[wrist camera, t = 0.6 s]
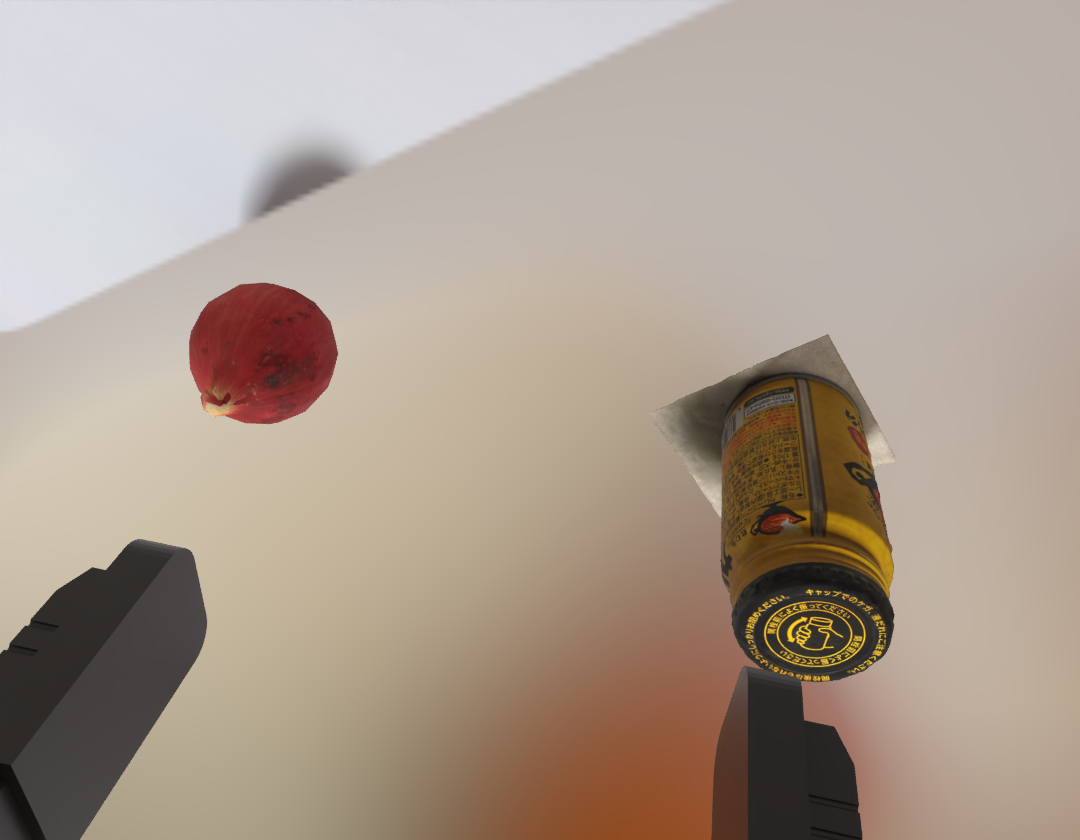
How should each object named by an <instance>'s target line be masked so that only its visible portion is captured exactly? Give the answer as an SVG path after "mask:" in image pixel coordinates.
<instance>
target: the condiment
mask: <svg viewBox="0 0 1080 840" xmlns="http://www.w3.org/2000/svg"><path fill="white" fill-rule="evenodd" d="M648 415H649V417H650V418H651V419H652V421H653V422H654V423H655V425H656V426H657V427H658V428H659V429H660V431H661V432H662V434H663V435H664V437H665V438H666V439H667V441H668V442H669V443H670V445H671V447H672V448H673V449H674V451H675V452H676V453H677V455H678V456H679V457H680V459H681V460H682V462H683V463H684V465H685V466H686V468H687V469H688V471H689V472H690V473H691V475H693V476H694V478H695V480H696V482H697V484H698V485H699V487H700V488H701V490H702V491H703V493H704V494H705V496H706V497H707V498H708V500H709V501H710V502H711V504H712V505H713V508H714V509H715V511H716V512H717V513H718V515H719V516H720V518H721V520H722V522H721V568H722V577H723V580H724V583H725V586H726V588H727V589H728V592H729V593H730V601H731V604H732V607H733V611H732V626H733V629H734V635H735V637H736V639H737V641H738V643H739V645H740V647H741V648H742V649H743V650H744V652H745V654H746V655H747V656H748V658H750V659H751V660H753V662H754V663H756V664H757V665H758V666H759V667H760V668H763V669H764V670H767V671H771V672H776V673H781V674H786V675H790V676H795V677H798V678H799V679H800V681H812V682H824V681H833V680H840V679H842V678H845V677H848V676H851V675H854V674H857V673H858V672H863V671H864V670H866V669H867V668H868V667H869V666H871V665H872V664H873V663H874V662H876V661H878V660H879V659H881V658H882V657H883V656H884V655H885V653H886V652H887V650H888V648H889V645H890V642H891V638H892V633H893V629H894V623H893V620H894V613H893V608H892V606H891V604H890V601H889V596H890V593H889V587H890V585H891V582H892V579H893V570H894V565H893V560H892V556H891V552H892V546H891V544H890V542H889V539H888V536H887V530H886V524H885V521H884V517H883V512H882V508H881V504H880V493H879V491H878V487H877V483H876V481H875V475H874V469H873V467H877V466H879V465H883V464H886V463H890V462H896V461H897V459H896V458H895V456H894V454H893V452H892V450H891V448H890V447H889V445H888V443H887V441H886V439H885V437H884V436H883V434H882V432H881V430H880V428H879V426H878V424H877V422H876V420H875V419H874V417H873V415H872V413H871V411H870V410H869V408H868V406H867V404H866V402H865V400H864V398H863V397H862V395H861V393H860V391H859V389H858V388H857V386H856V384H855V382H854V380H853V379H852V377H851V375H850V373H849V371H848V370H847V368H846V366H845V364H844V363H843V361H842V359H841V357H840V355H839V354H838V352H837V350H836V348H835V346H834V344H833V343H832V341H831V339H830V337H829V335H825V336H823V337H821V338H818V339H816V340H814V341H811V342H809V343H806V344H804V345H801V346H799V347H797V348H794V349H791V350H789V351H787V352H784V353H782V354H780V355H779V356H777V357H774V358H771V359H768V360H766V361H763V362H761V363H759V364H757V365H755V366H753V367H752V368H748V369H745V370H743V371H742V372H740V373H738V374H736V375H734V376H731V377H728V378H727V379H725V380H723V381H721V382H720V383H718V384H716V385H713V386H709V387H707V388H704V389H702V390H700V391H698V392H695V393H692V394H690V395H688V396H686V397H684V398H682V399H679V400H678V401H676V402H674V403H672V404H670V405H668V406H666V407H663V408H661V409H658V410H656V411H654V412H651V413H649V414H648Z"/></svg>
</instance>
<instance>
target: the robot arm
mask: <svg viewBox="0 0 1080 840" xmlns="http://www.w3.org/2000/svg"><path fill="white" fill-rule="evenodd" d="M206 629H207V617H206V612H205V607H204V602H203V598H202V593H201V588H200V583H199V579H198V574H197V569H196V564H195V560H194V556H193V554H192V552H191V551H190V550H188V549H186V548H181V547H176V546H171V545H167V544H162V543H157V542H152V541H147V540H142V539H138V540H134V541H132V542H131V543H130V544H128V545H127V546H126V547H125V548H124V550H123V551H122V552H121V553H120V554H119V555H118V557H117V558H116V559H115V560H114V561H113V562H112V564H111V565H110V566H109V567H108V568H107V570H102V569H97V568H93V567H92V568H91V569H89V570H88V571H86V572H85V573H83V574H82V575H80V576H78V577H77V578H75V579H73V580H72V581H70V582H69V583H67V584H66V585H64V586H63V587H61V588H59V589H58V590H57V591H56V592H55V593H54V594H53V595H52V596H51V597H50V598H49V600H48V601H47V602H46V603H45V604H44V605H43V606H42V607H41V608H40V610H39V611H38V612H37V613H36V614H35V615H34V617H33V618H32V619H31V622H30V625H29V626H25V627H24V628H23V629H22V630H21V631H20V632H19V633H18V635H17V636H16V637H15V638H14V639H13V640H12V641H11V642H10V645H9V648H8V650H3V652H2V653H1V654H0V840H80V838H81V837H82V835H83V834H84V832H85V830H86V829H87V827H88V826H89V824H90V823H91V821H92V820H93V818H94V817H95V815H96V813H97V812H98V810H99V809H100V807H101V806H102V804H103V803H104V801H105V800H106V798H107V796H108V795H109V794H110V792H111V790H112V789H113V787H114V786H115V784H116V783H117V781H118V780H119V778H120V776H121V775H122V773H123V772H124V770H125V769H126V767H127V766H128V764H129V763H130V761H131V760H132V758H133V757H134V755H135V753H136V752H137V750H138V749H139V747H140V746H141V744H142V743H143V741H144V740H145V738H146V736H147V735H148V733H149V732H150V730H151V729H152V727H153V725H154V724H155V722H156V721H157V719H158V718H159V716H160V715H161V713H162V712H163V710H164V708H165V707H166V706H167V704H168V702H169V701H170V699H171V698H172V696H173V695H174V693H175V692H176V690H177V689H178V687H179V685H180V684H181V682H182V681H183V679H184V678H185V676H186V675H187V673H188V672H189V670H190V668H191V667H192V665H193V664H194V662H195V660H196V659H197V657H198V655H199V653H200V651H201V648H202V646H203V643H204V639H205V635H206ZM712 805H713V806H712V835H711V840H862V830H861V820H860V813H858V806H859V802H858V793H857V785H856V776H855V767H854V764H853V762H852V760H851V758H850V756H849V754H848V752H847V750H846V748H845V746H844V745H843V742H842V741H841V739H840V737H839V735H838V733H837V731H836V729H835V727H833V726H828V725H824V724H819V723H814V722H809V721H805V720H804V715H803V698H802V686H801V682H800V679H799V678H798V677H795V676H790V675H786V674H781V673H776V672H771V671H766V670H761V669H756V668H752V667H747V666H744V667H743V668H742V670H741V672H740V675H739V678H738V680H737V683H736V686H735V690H734V692H733V695H732V698H731V701H730V704H729V707H728V710H727V713H726V716H725V719H724V722H723V725H722V728H721V732H720V735H719V740H718V744H717V749H716V756H715V764H714V779H713V804H712Z"/></svg>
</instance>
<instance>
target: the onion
mask: <svg viewBox="0 0 1080 840" xmlns="http://www.w3.org/2000/svg"><path fill="white" fill-rule="evenodd" d="M189 355H190V356H189V357H190V370H191V372H192V375H193V377H194V379H195V382H196V384H197V387H198V389H199V391H200V392H201V393H202V395H201V401H202V406H203V409H204V410H205V411H207V412H209V413H210V414H212V415H213V416H214V417H217V416H223V415H225V416H227V417H230V418H232V419H235V420H238V421H241V422H244V423H256V424H272V423H277V422H280V421H283V420H286V419H288V418H291V417H293V416H296V415H298V414H300V413H302V412H305V411H306V410H307V409H308V408H309V407H310V406H311V405H312V404H313V403H314V402H315V401H316V400H317V398H318V397H319V396H320V395H321V394H322V393H323V392H324V391H325V390H326V389H327V387H328V385H329V383H330V380H331V378H332V375H333V371H334V368H335V364H336V360H337V356H338V351H337V346H336V342H335V338H334V334H333V330H332V326H331V323H330V321H329V320H328V318H327V317H326V316H325V315H324V314H323V312H322V311H321V310H320V308H319V307H318V306H317V305H316V304H315V302H313V301H311V300H310V299H308V298H306V297H305V296H303V295H301V294H300V293H298V292H297V291H295V290H292V289H289V288H285V287H282V286H278V285H275V284H268V283H256V284H242V285H239V286H237V287H235V288H233V289H231V290H230V291H228V292H226V293H224V294H222V295H221V296H219V297H217V298H215V299H214V300H212V301H210V302H209V303H208V304H207V305H206V307H205V308H204V309H203V311H202V312H201V314H200V316H199V318H198V320H197V322H196V324H195V325H194V327H193V329H192V331H191V335H190V341H189Z"/></svg>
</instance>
